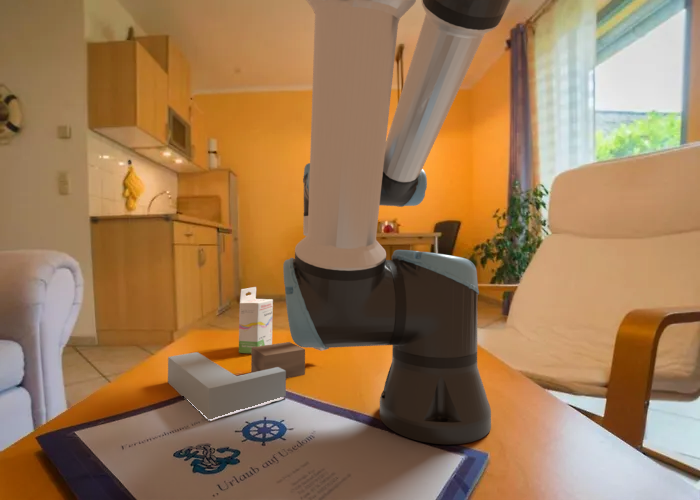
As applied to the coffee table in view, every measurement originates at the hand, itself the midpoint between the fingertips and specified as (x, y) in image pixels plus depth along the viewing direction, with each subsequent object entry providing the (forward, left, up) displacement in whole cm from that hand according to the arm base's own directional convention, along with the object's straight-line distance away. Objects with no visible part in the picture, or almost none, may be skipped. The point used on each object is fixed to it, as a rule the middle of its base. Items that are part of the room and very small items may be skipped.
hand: (319, 348), depth 77 cm
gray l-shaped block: (-2, +22, -3) cm, 22 cm away
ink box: (+19, +5, -3) cm, 20 cm away
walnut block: (0, +10, -3) cm, 11 cm away
